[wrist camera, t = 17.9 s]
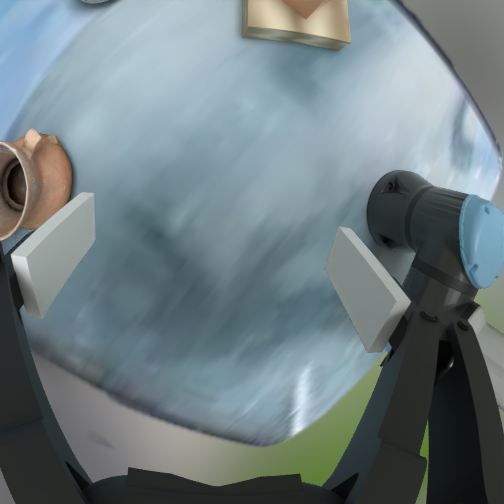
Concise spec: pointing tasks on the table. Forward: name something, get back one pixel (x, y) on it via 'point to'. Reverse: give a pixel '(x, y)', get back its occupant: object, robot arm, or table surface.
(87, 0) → the teacup
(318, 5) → the pink square box
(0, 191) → the ceramic jug
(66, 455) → the robot arm
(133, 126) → the table surface
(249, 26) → the birch box
